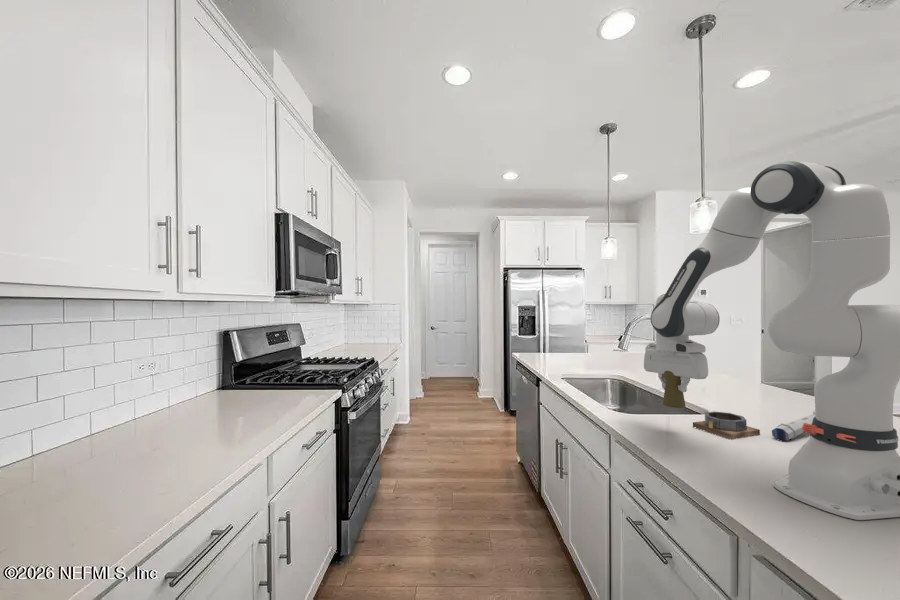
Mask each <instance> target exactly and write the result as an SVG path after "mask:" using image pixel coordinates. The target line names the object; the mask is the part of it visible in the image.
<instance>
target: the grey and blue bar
mask: <svg viewBox="0 0 900 600" xmlns="http://www.w3.org/2000/svg"><path fill="white" fill-rule="evenodd" d="M814 417H815V410H813V412H812V414H810V415H807V416H805V417H801V418H799V419H796V420H793V421H790V422H787V423H781V424H779V425H777V426H776V427H775V428H774V429H772V430H771V436H772V437H773V438H774V439H775V440H777V439H779V440H778V441H780V440H782V441H781V442H784V441H785V442H786V441H789V440H790V439H792V440H794V439H796V438H797V436H799V435H801V434H803V433H804V432H803V430H802V426H803V424H804V423H808V424H810V425H811V423H812V421H813V418H814Z"/></svg>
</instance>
